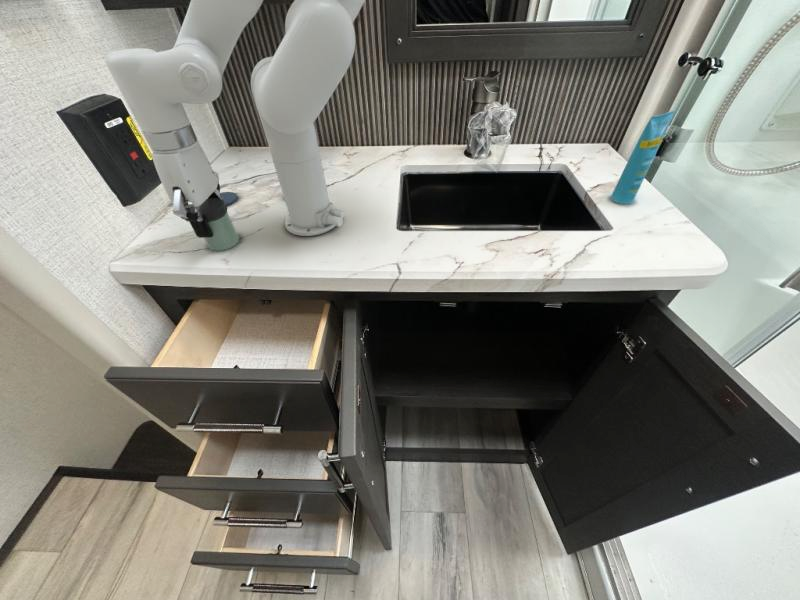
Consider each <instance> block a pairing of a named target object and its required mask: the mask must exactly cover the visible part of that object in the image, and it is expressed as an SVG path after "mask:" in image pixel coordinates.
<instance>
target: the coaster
mask: <svg viewBox="0 0 800 600" xmlns="http://www.w3.org/2000/svg"><path fill="white" fill-rule="evenodd" d="M220 193H221V194H222V200H223V201H224V202H225V203H226V206H227V207H228V206H231V205H233V204H234V203H236V202H237V201H238V199H239V197H238V195H237V193H235V192H233V191H223V192H220Z"/></svg>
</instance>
